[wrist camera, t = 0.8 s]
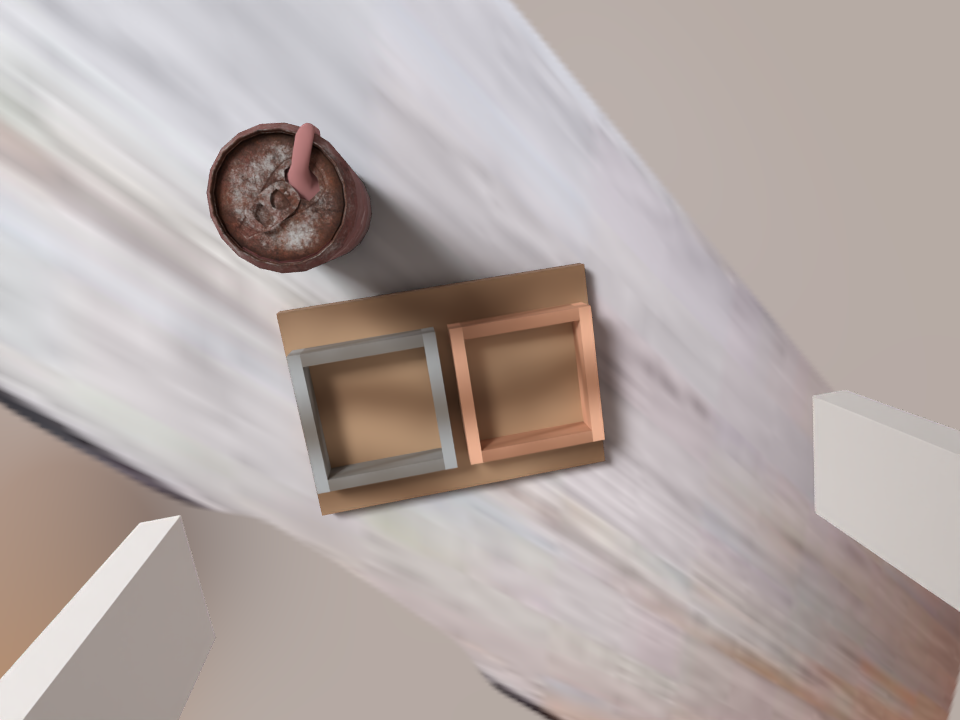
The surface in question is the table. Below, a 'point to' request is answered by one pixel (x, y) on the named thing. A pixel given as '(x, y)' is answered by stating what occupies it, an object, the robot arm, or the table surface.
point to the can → (286, 198)
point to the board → (446, 386)
